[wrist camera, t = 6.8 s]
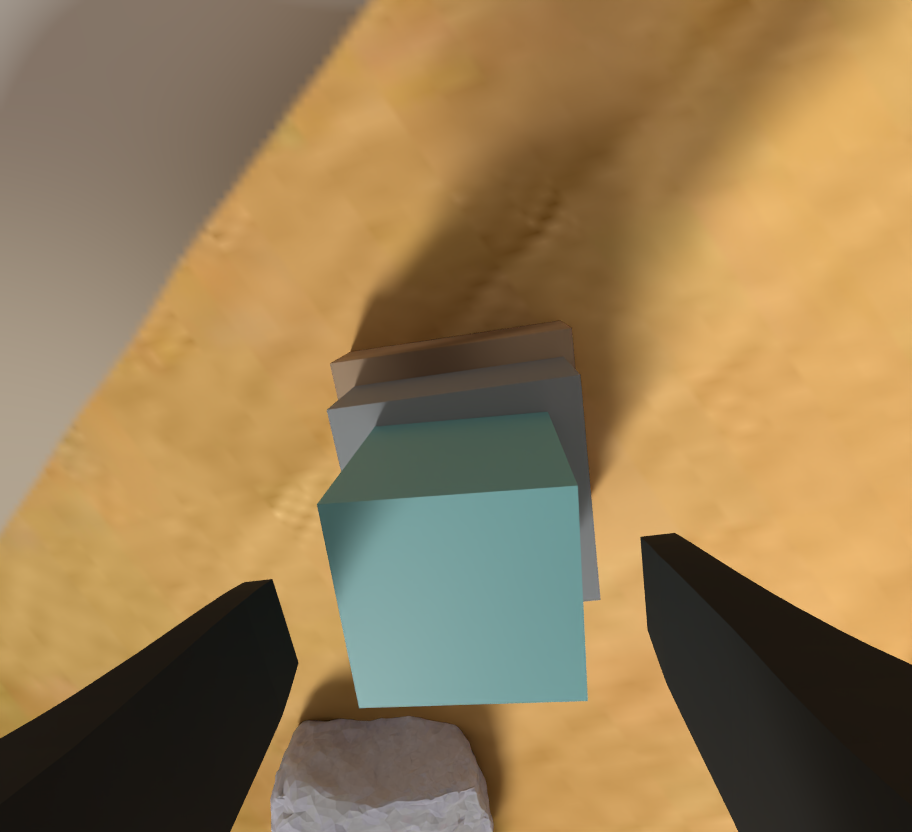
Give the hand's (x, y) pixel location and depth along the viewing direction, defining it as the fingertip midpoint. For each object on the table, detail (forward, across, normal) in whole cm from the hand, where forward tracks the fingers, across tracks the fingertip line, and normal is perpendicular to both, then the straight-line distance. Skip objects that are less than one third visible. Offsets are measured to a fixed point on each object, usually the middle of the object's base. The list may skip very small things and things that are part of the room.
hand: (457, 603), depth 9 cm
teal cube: (+5, 0, 0) cm, 5 cm away
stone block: (+11, +7, +20) cm, 23 cm away
